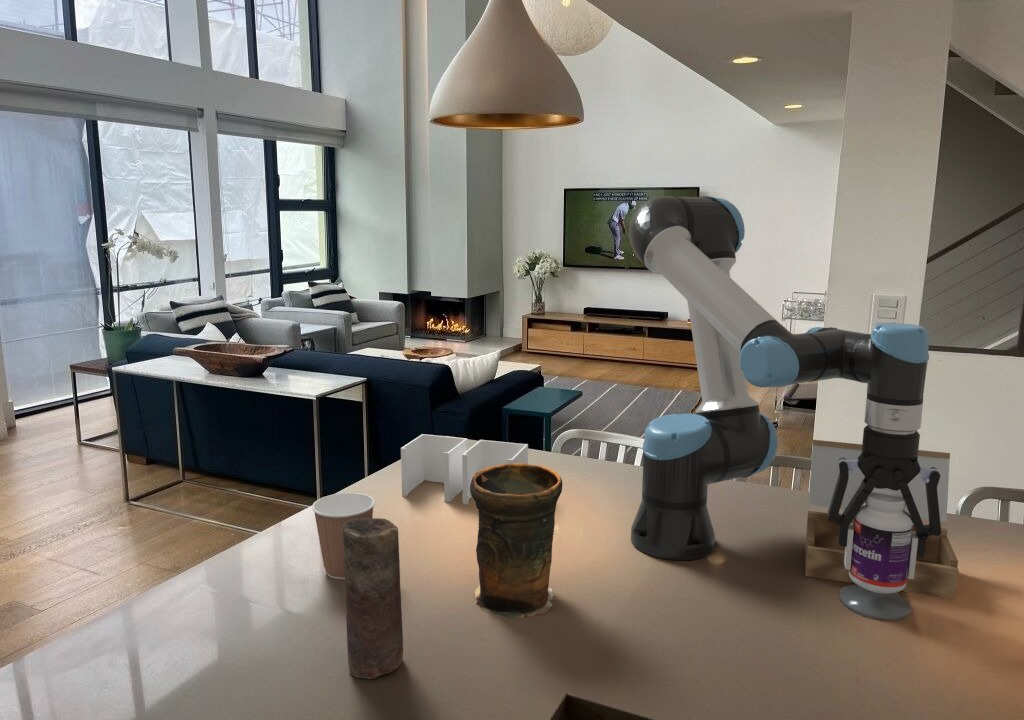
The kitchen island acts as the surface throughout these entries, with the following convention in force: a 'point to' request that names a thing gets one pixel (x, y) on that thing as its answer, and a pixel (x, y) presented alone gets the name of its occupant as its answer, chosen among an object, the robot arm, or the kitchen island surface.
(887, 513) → the pill bottle
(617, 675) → the kitchen island surface
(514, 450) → the storage container
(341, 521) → the coffee cup
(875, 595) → the grey oval disc
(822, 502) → the lid
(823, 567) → the wooden box
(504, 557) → the vessel
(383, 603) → the candle
